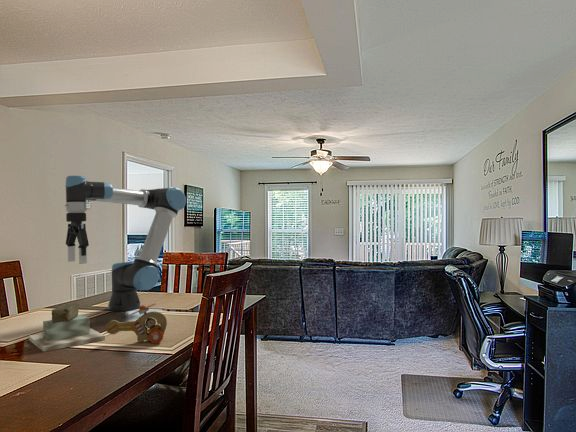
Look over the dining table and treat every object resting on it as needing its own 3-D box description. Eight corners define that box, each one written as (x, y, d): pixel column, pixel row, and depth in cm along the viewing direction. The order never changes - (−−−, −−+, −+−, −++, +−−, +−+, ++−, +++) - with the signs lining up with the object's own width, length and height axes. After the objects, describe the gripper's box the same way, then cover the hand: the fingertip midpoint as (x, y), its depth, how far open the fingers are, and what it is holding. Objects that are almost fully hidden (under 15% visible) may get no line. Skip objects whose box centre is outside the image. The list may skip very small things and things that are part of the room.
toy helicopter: (165, 343, 147) (165, 304, 147) (103, 347, 142) (103, 307, 143) (167, 337, 155) (167, 300, 155) (108, 340, 150) (108, 303, 151)
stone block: (79, 315, 158) (79, 302, 158) (67, 323, 147) (67, 309, 147) (63, 316, 157) (63, 303, 157) (50, 323, 146) (50, 309, 146)
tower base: (86, 329, 166) (86, 310, 166) (104, 339, 152) (104, 319, 152) (28, 339, 152) (28, 319, 152) (43, 351, 138) (43, 329, 138)
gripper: (57, 212, 181) (57, 261, 181) (77, 211, 163) (78, 265, 163) (75, 212, 186) (76, 259, 186) (96, 211, 168) (97, 263, 168)
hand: (77, 262), depth 175 cm, fingers open, 13 cm apart
